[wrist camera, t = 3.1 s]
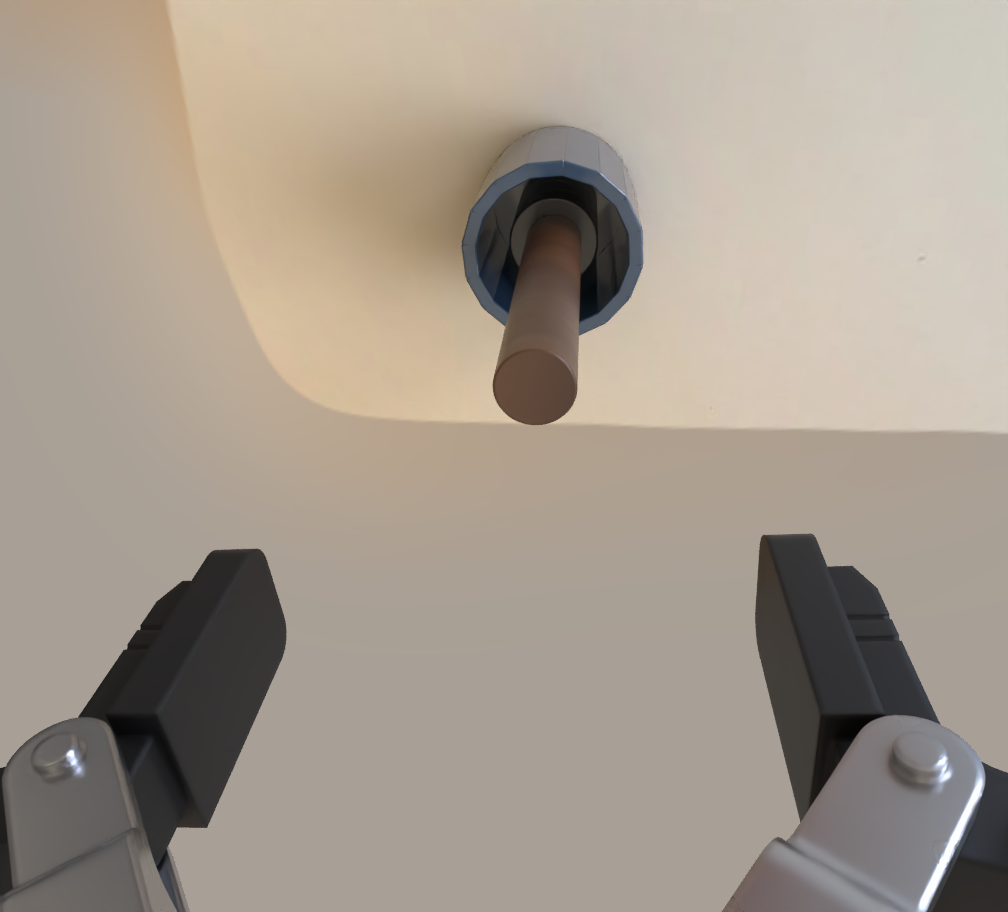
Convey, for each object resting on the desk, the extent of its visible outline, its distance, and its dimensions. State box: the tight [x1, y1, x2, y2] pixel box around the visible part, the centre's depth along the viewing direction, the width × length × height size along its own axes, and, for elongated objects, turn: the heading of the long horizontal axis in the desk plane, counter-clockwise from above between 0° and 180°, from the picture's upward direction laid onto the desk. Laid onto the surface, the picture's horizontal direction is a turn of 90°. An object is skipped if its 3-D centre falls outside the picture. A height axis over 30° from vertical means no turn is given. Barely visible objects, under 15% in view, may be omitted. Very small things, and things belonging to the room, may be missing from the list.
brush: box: [493, 176, 598, 425], centre depth 27 cm, size 3×3×17 cm
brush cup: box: [462, 126, 643, 335], centre depth 32 cm, size 6×6×7 cm
